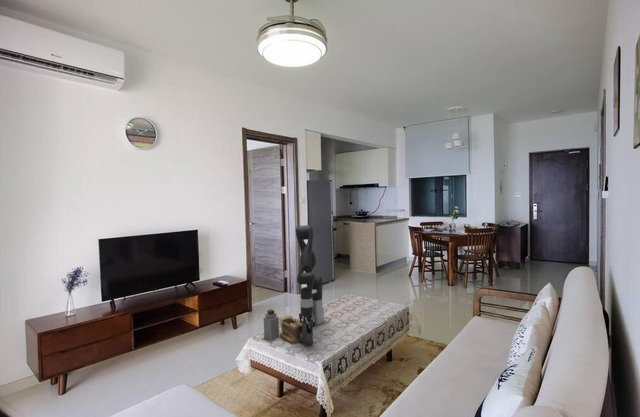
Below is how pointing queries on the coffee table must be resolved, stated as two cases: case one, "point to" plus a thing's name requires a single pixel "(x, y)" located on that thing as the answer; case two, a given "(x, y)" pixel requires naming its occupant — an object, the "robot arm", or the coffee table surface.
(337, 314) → the coffee table surface
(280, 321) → the spacer
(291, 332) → the guide block
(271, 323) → the perfume bottle
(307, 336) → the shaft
